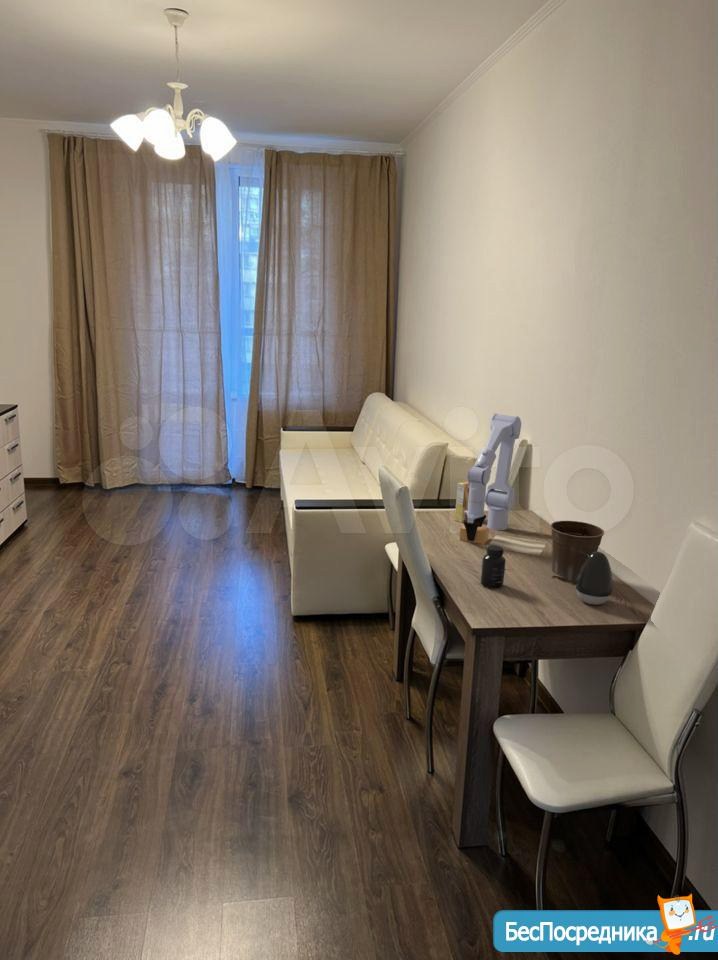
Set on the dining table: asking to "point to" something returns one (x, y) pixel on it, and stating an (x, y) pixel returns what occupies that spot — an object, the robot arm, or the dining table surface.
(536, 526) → the dining table surface
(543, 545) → the board
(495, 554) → the supplement bottle
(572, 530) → the plant pot
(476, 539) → the block
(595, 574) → the black egg shaped device
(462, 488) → the candy box
